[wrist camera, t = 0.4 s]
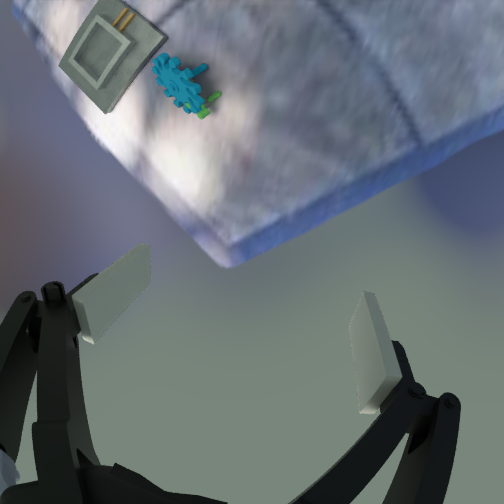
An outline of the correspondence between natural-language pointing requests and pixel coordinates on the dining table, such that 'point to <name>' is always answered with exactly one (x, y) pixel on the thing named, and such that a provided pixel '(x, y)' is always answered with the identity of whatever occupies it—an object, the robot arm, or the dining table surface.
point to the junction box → (110, 51)
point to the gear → (182, 85)
